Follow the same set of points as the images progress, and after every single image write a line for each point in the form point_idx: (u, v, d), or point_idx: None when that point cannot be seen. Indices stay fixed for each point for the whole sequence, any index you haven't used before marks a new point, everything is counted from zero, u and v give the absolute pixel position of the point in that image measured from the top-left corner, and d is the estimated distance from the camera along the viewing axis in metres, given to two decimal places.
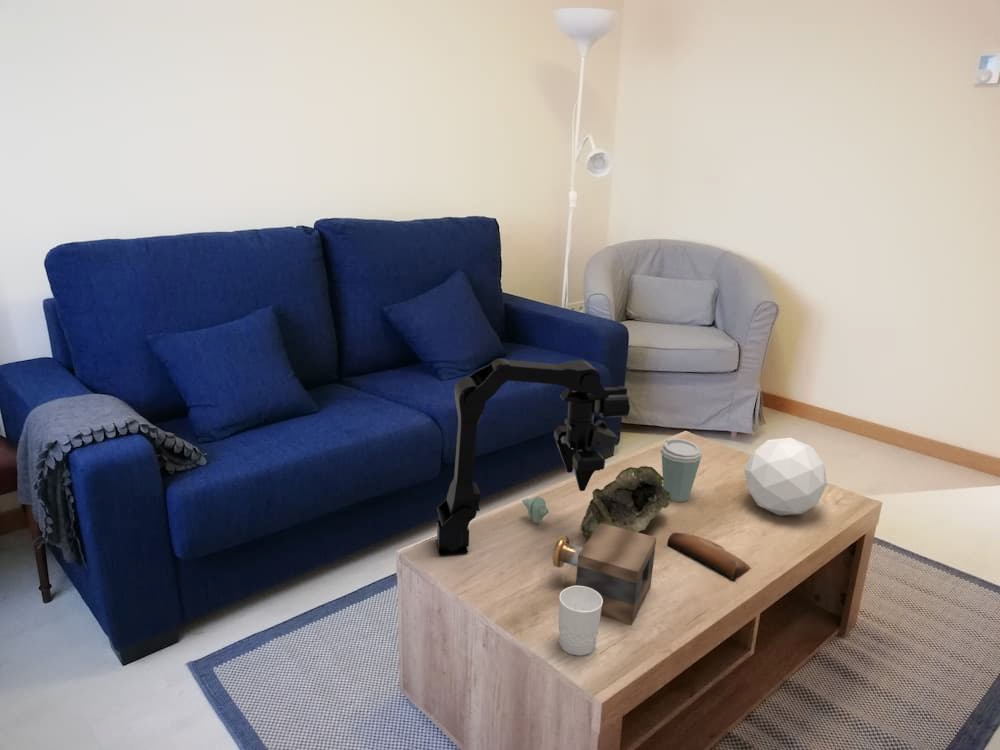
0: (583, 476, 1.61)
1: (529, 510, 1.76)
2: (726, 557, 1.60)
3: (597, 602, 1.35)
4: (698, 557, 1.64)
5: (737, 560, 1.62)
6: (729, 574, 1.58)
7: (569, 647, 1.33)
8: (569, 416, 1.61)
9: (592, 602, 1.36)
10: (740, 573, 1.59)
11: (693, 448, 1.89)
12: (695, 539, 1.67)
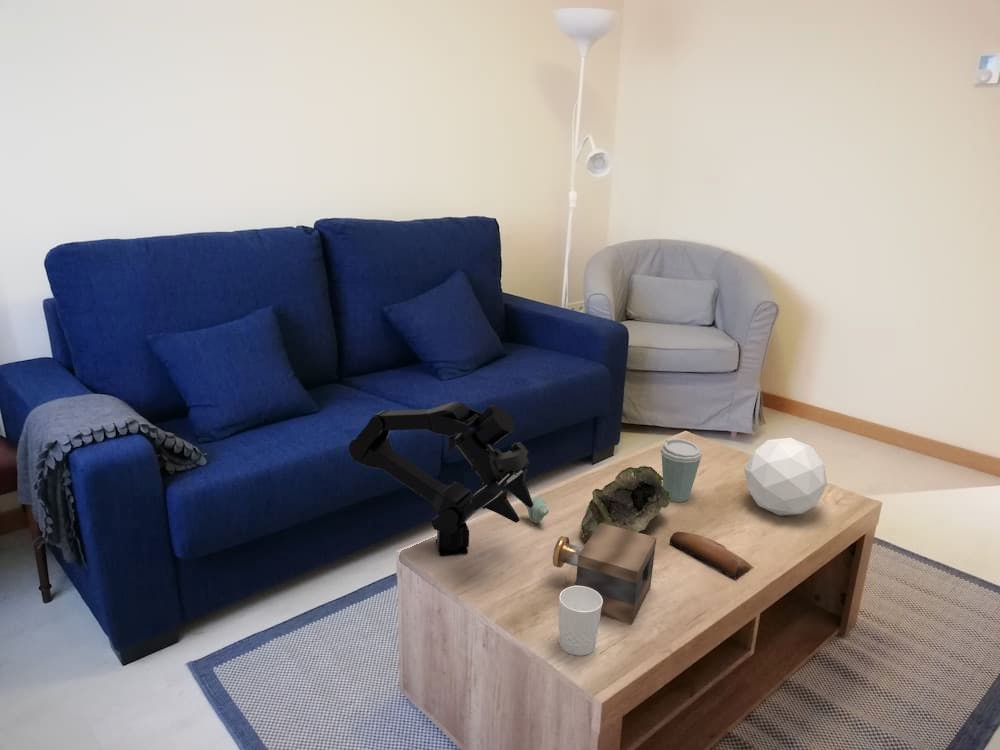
0: (502, 508, 1.51)
1: (529, 510, 1.76)
2: (728, 556, 1.60)
3: (597, 602, 1.35)
4: (700, 556, 1.64)
5: (738, 559, 1.62)
6: (731, 573, 1.58)
7: (569, 647, 1.33)
8: None
9: (592, 602, 1.36)
10: (742, 573, 1.60)
11: (693, 448, 1.89)
12: (697, 538, 1.67)
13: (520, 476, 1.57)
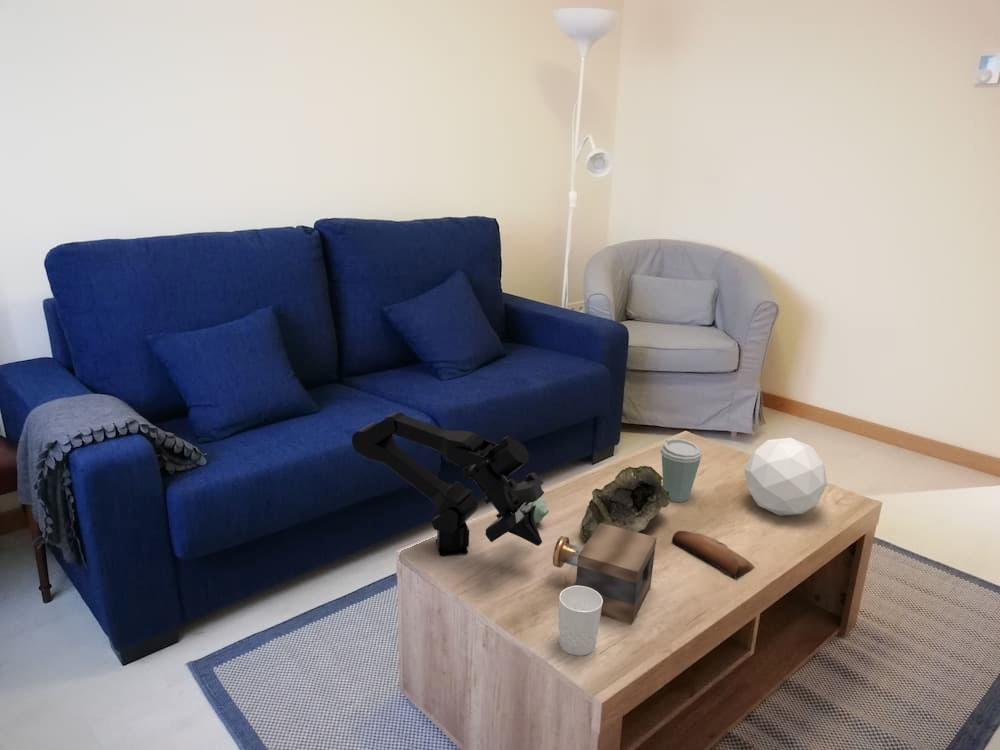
0: (524, 532, 1.54)
1: None
2: (729, 556, 1.61)
3: (597, 602, 1.35)
4: (701, 555, 1.65)
5: (740, 559, 1.63)
6: (731, 572, 1.59)
7: (569, 647, 1.33)
8: None
9: (592, 602, 1.36)
10: (743, 572, 1.60)
11: (693, 448, 1.89)
12: (699, 537, 1.68)
13: (528, 513, 1.55)
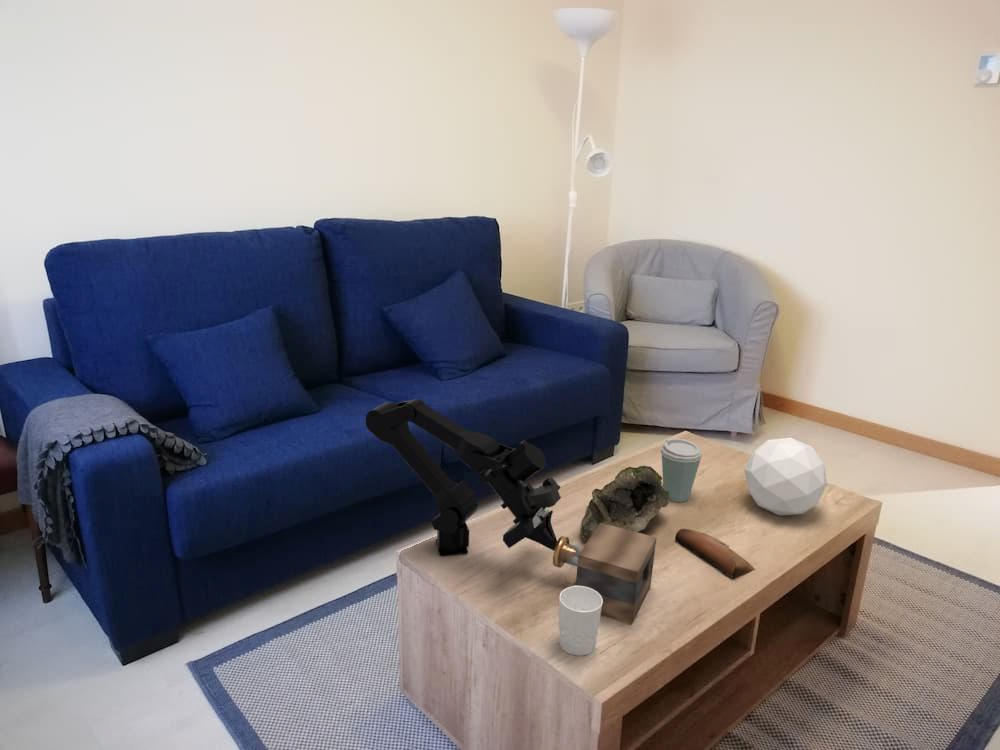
0: (541, 537, 1.53)
1: None
2: (728, 556, 1.61)
3: (597, 602, 1.35)
4: (701, 554, 1.65)
5: (740, 560, 1.62)
6: (728, 572, 1.59)
7: (569, 647, 1.33)
8: None
9: (592, 602, 1.36)
10: (741, 573, 1.60)
11: (693, 448, 1.89)
12: (701, 536, 1.68)
13: (545, 518, 1.54)
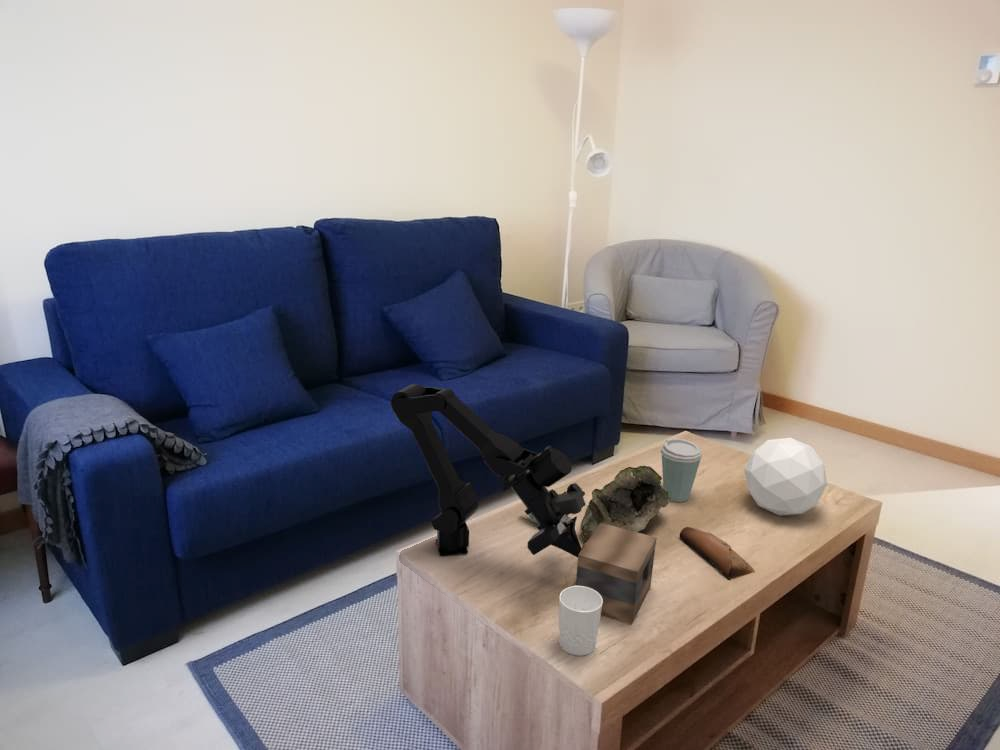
0: (565, 544, 1.51)
1: None
2: (726, 555, 1.61)
3: (597, 602, 1.35)
4: (701, 552, 1.66)
5: (739, 561, 1.62)
6: (725, 572, 1.59)
7: (569, 647, 1.33)
8: None
9: (592, 602, 1.36)
10: (738, 574, 1.59)
11: (693, 448, 1.89)
12: (704, 535, 1.68)
13: (570, 524, 1.51)
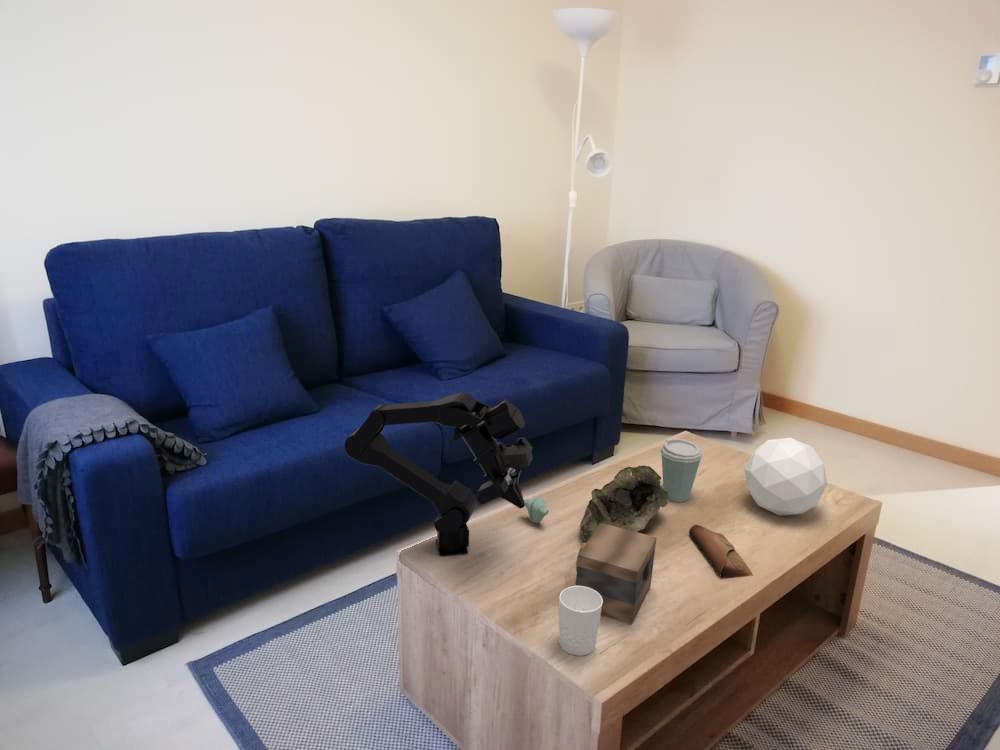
0: (509, 495, 1.57)
1: (529, 510, 1.76)
2: (723, 555, 1.61)
3: (597, 602, 1.35)
4: (703, 550, 1.67)
5: (737, 562, 1.61)
6: (718, 571, 1.59)
7: (569, 647, 1.33)
8: None
9: (592, 602, 1.36)
10: (732, 574, 1.59)
11: (693, 448, 1.89)
12: (710, 534, 1.69)
13: (515, 476, 1.57)
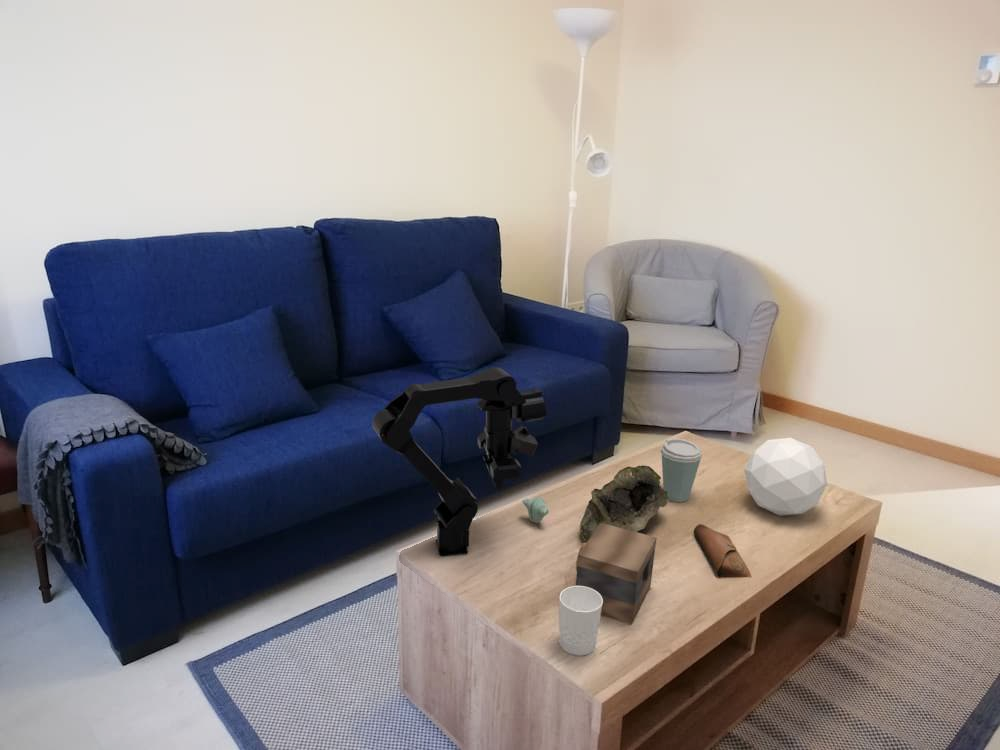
0: None
1: (529, 510, 1.76)
2: (721, 554, 1.61)
3: (597, 602, 1.35)
4: (704, 549, 1.67)
5: (736, 563, 1.61)
6: (715, 570, 1.59)
7: (569, 647, 1.33)
8: (488, 425, 1.59)
9: (592, 602, 1.36)
10: (730, 574, 1.59)
11: (693, 448, 1.89)
12: (712, 534, 1.69)
13: None
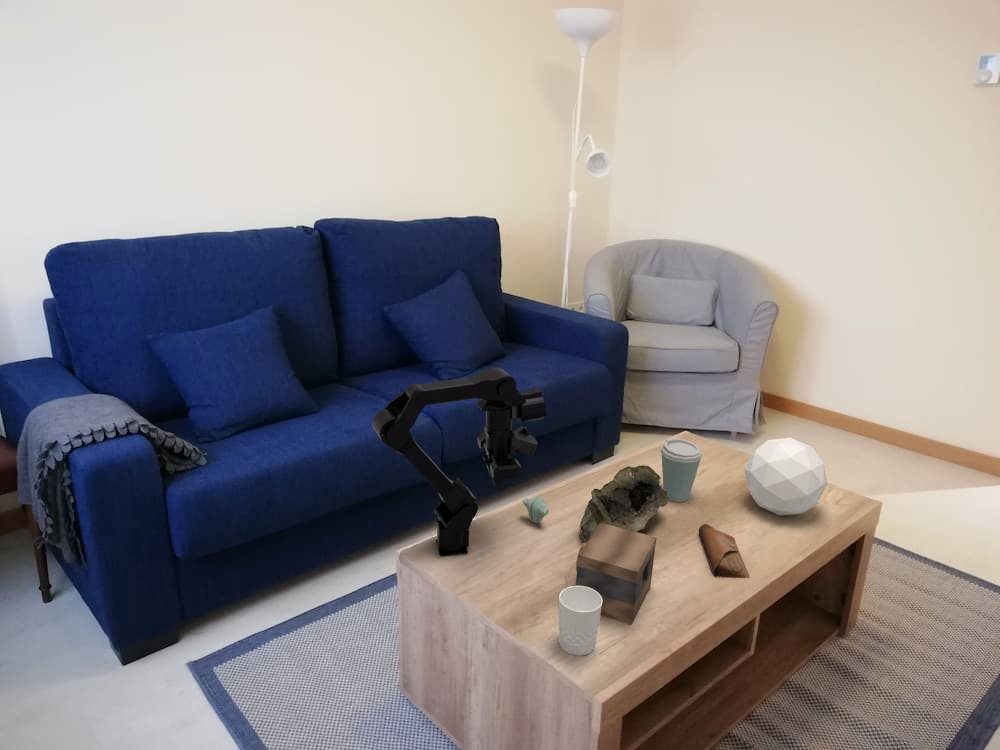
0: None
1: (529, 510, 1.76)
2: (720, 554, 1.61)
3: (597, 602, 1.35)
4: (705, 548, 1.67)
5: (735, 563, 1.61)
6: (712, 569, 1.60)
7: (569, 647, 1.33)
8: (488, 425, 1.59)
9: (592, 602, 1.36)
10: (727, 574, 1.59)
11: (693, 448, 1.89)
12: (715, 534, 1.69)
13: None
